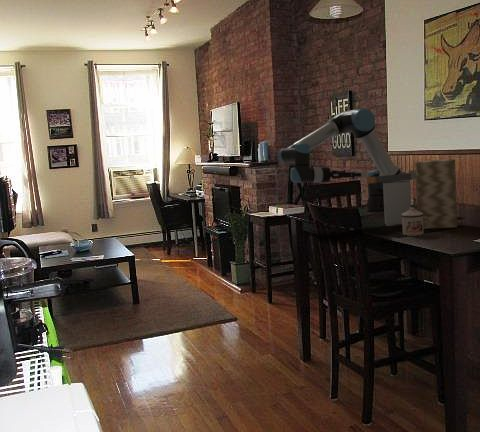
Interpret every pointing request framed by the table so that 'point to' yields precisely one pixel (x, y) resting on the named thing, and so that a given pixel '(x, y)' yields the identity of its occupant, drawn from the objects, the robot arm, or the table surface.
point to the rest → (396, 201)
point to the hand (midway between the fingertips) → (362, 174)
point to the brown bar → (392, 178)
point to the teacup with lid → (413, 222)
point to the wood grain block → (437, 192)
